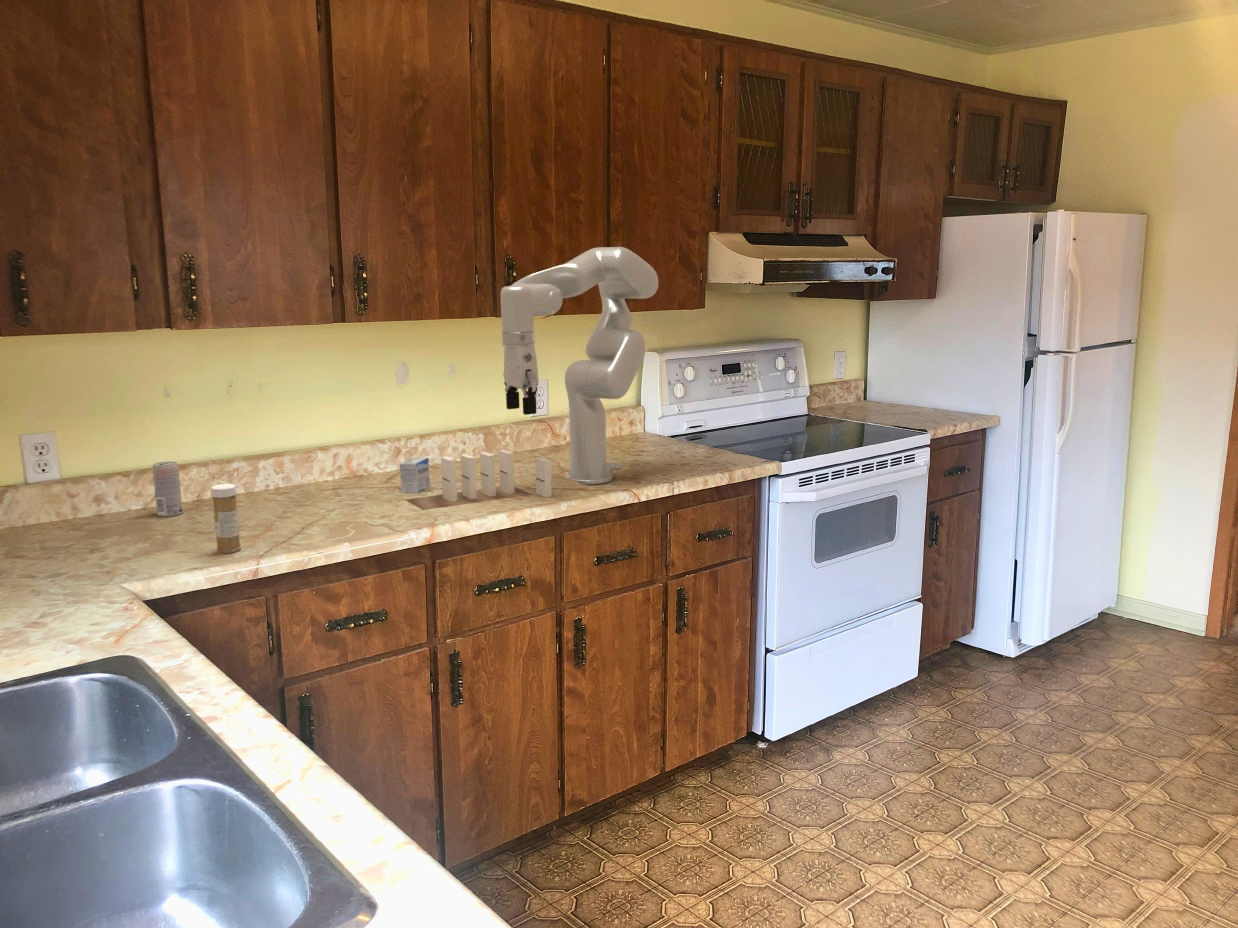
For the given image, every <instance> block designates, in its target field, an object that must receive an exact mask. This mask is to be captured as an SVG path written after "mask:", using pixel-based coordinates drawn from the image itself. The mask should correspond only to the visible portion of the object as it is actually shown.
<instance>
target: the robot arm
mask: <svg viewBox="0 0 1238 928" xmlns="http://www.w3.org/2000/svg"><path fill="white" fill-rule="evenodd" d="M597 285H598V290H599V294H600V299H601V306H602V308H601V309H602V311H601V314H600V317H599V319H598V320H597V323H596V324H595V326H594V329H593V331H592V332H591V334H590V336H589V337H588V338H589V339H588V341H587V343H586V346H585V355H586V357H587V358H588V359H584V360H583V359H581V360H576V361H574V362H571V364H569V365H568V367H567V368H566V370H565V374H564V385H565V389H566V394H567V398H568V399H567V400H568V410H569V411H568V413H569V414H568V415H569V461H570V462H569V464H570V465H569V467H570V472H569V473H566V474H565V475H564V478H566V479H567V480H572V481H574V482H577V483H580V484H583V485H600V484H605V483H609V482H611V481H612V480H613V474H612V472H613V471H621V470H622V469H623V464H622V462H615V463H613V462H610V461H608V460H607V426H606V425H607V424H606V423H607V417H606V416H607V415H606V411H605V407H604V405H603V402H602V401H601V399H605V400H606V399H607V400H619V399H621V398H623V397H624V396H625V395H626V394H627V392H628V391H629V389H630V387H631V385H632V383H633V382H634V379H635V377H636V375H637V373H638V371H639V369H640V367H641V366H642V365H641V364H642V363H643V360H644V358H645V354H646V353H645V352H646V342H645V338H644V337H643V335H642V333H640V332H639V331H637V330H636V329H632V328H631V327H632V325H633V324H632V323H633V317H632V314H631V311H630V309H629V307H628V305H627V303H626V300H625V299H642V300H643V299H648V298H649V299H650V298H651V297H653V296H654V295H655V294H656V292H657V291H658V288H659V276H658V274H657V271H655V269H654V268H653V266H651V264H649V263H648V262H647V261H645V260H644V259H643V258H642V257H640V256H639V255H637V253H635V252H633V251H632V250H630V249H629V248H626V247H623V246H611V247H610V246H609V247H607V246H605V247H603V246H602V247H601V246H600V247H593V248H591V249H589V250H586V251H584V252H583V253H581V254H579V255H578V256H576V257H573V259H570V260H569V261H567V262H565V263H563V264H560V265H556V266H553V267H550V268H547V269H544V270H541V271H538V272H534V273H531V274H528V275H526V276H524V277H522V278H520V279H519V280H517V281H515V282H513V283H512V284H511V285H508V286H507V285H506V286H503V287H502V288H501V289H500V312H501V335H502V336H501V337H502V339H501V340H502V347H504V350H503V351H504V352H503V353H504V355H503V358H504V359H503V369H504V371H503V373H502V375H503V378H504V382H503V385H504V386H505V387H504V391H505V399H506V400H505V401H506V409H507V410H514V409H515V410H517V409H519V408H520V392H519V391H518V390H520V389H521V391H522V395H523V397H522V413H523V415H524V416H526V415H534V414H536V413H537V395H538V394H537V391H538V387H539V371H538V360H537V354H536V348H535V344H536V343H535V319H534V316H539V317H540V316H542V317H544V316H545V317H546V316H548V317H549V316H552V315H554V314H556V313H557V312H559V310H560V309H561V307H562V306H563V299H568V298H573V297H577V296H581V295H582V294H584V293H585V292H586V291H587V292H588V291H589V290H590V289H591V288H593V287H595V286H597Z"/></svg>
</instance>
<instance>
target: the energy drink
mask: <svg viewBox="0 0 1238 928" xmlns="http://www.w3.org/2000/svg"><path fill="white" fill-rule="evenodd" d="M151 468H152V475H153V476H152V477H153V485H154V495H155V505H156V507H155V508H156V513H157V516H158V517H160V518H172V517H176V516H177V517H178V516H180V515H182V513H183V502H182V493H181V490H182V489H181V482H180V472H179V471H180V470H179V466H178V463H177V461H160V462H156V463H153V464H152V467H151Z"/></svg>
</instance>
